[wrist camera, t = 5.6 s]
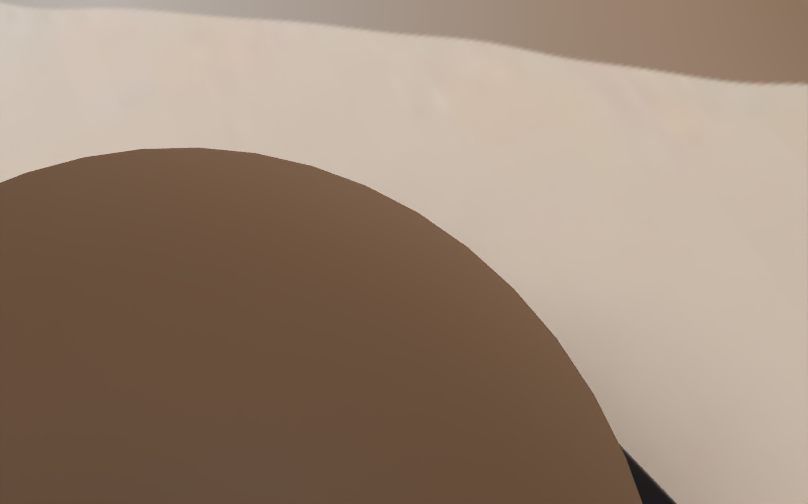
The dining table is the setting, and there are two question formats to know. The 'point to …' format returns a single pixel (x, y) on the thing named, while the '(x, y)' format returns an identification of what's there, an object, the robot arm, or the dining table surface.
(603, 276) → the dining table surface
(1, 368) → the walnut peg
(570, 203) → the dining table surface
